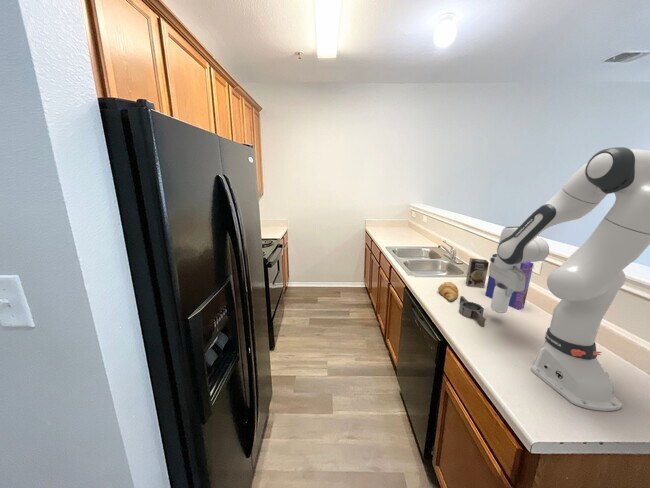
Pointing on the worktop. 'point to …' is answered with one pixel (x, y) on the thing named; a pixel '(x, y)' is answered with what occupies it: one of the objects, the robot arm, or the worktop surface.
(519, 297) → the cereal box
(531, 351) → the worktop surface
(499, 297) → the can
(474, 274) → the coffee box
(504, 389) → the worktop surface
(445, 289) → the croissant
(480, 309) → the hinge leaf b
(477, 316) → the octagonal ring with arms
